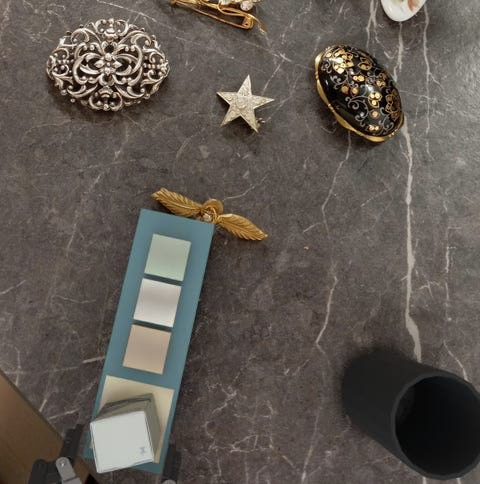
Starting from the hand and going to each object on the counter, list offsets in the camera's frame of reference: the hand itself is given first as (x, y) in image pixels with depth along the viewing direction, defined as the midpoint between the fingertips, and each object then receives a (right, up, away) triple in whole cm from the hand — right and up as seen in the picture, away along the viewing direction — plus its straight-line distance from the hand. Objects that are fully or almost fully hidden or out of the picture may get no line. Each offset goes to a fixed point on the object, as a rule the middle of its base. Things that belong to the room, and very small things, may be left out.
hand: (125, 439), depth 82 cm
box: (0, -1, +8) cm, 8 cm away
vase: (+29, -9, +37) cm, 48 cm away
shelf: (0, -1, +37) cm, 37 cm away
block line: (+1, +6, +10) cm, 11 cm away
